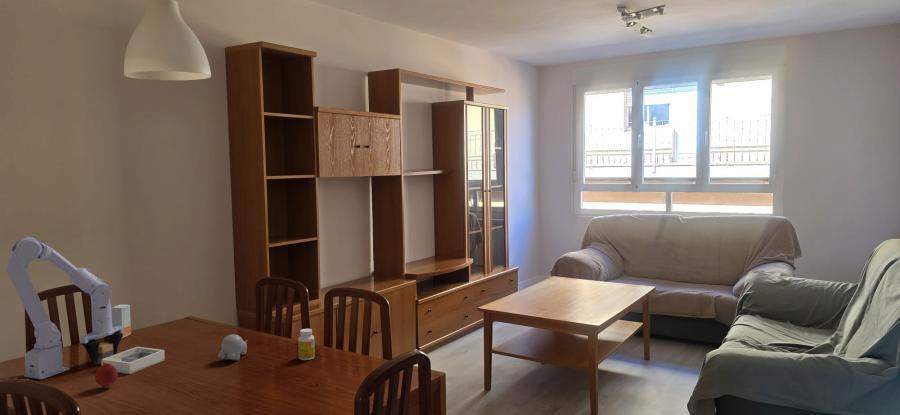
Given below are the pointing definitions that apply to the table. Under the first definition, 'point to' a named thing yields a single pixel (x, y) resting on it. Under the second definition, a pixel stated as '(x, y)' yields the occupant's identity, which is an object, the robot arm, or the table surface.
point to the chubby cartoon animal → (232, 347)
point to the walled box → (135, 359)
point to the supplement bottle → (306, 345)
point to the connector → (104, 351)
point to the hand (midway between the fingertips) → (103, 358)
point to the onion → (106, 375)
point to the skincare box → (122, 318)
